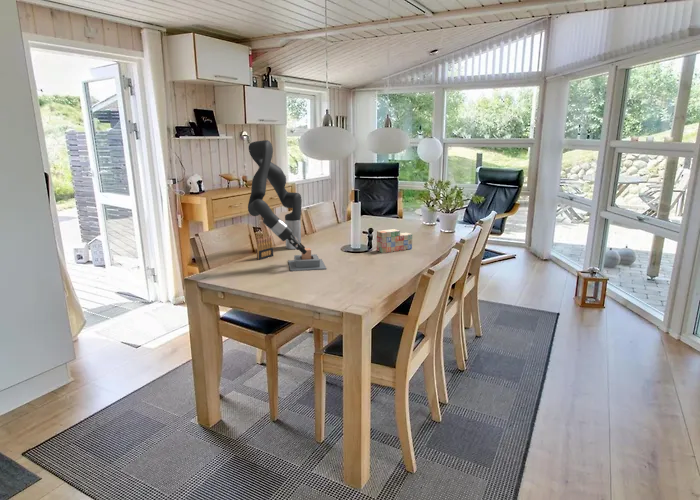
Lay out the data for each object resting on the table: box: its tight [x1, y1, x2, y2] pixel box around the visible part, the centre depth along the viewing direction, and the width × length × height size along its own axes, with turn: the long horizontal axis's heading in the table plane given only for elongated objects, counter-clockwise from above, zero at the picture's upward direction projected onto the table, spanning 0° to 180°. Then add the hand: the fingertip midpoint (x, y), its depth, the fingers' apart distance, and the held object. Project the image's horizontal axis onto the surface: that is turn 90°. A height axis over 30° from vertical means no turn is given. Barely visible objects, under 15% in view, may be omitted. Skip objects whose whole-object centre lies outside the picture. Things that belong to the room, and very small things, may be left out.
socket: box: [287, 253, 327, 272], centre depth 230 cm, size 18×18×4 cm
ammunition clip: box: [256, 235, 274, 261], centre depth 243 cm, size 11×2×12 cm, turn 143°
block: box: [301, 247, 312, 260], centre depth 229 cm, size 4×4×8 cm
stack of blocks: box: [376, 228, 413, 254], centre depth 262 cm, size 21×6×12 cm, turn 118°
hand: (304, 250), depth 228 cm, fingers open, 8 cm apart
